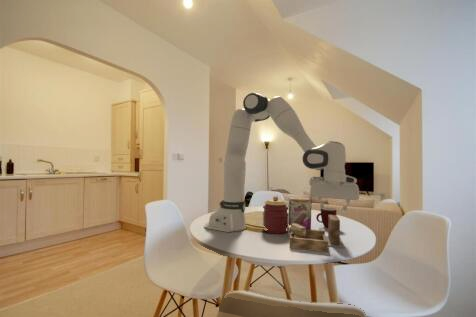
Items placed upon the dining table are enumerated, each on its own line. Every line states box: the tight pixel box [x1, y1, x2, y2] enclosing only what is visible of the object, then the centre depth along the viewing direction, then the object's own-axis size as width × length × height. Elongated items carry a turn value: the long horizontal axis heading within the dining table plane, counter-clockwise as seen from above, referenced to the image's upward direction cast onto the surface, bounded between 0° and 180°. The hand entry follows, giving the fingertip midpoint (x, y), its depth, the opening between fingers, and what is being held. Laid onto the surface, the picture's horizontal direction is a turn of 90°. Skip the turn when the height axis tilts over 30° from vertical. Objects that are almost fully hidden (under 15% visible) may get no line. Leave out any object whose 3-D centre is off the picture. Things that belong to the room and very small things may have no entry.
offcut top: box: [289, 223, 306, 236], centre depth 100 cm, size 3×7×4 cm, turn 22°
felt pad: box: [325, 235, 346, 249], centre depth 100 cm, size 7×13×1 cm, turn 164°
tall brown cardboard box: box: [327, 214, 341, 245], centre depth 101 cm, size 4×10×10 cm, turn 164°
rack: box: [289, 229, 329, 253], centre depth 98 cm, size 15×15×4 cm
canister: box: [262, 195, 289, 235], centre depth 117 cm, size 13×13×18 cm
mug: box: [315, 207, 337, 229], centre depth 124 cm, size 10×8×10 cm
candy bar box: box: [288, 197, 312, 230], centre depth 118 cm, size 11×5×16 cm, turn 84°
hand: (333, 208), depth 100 cm, fingers open, 8 cm apart
